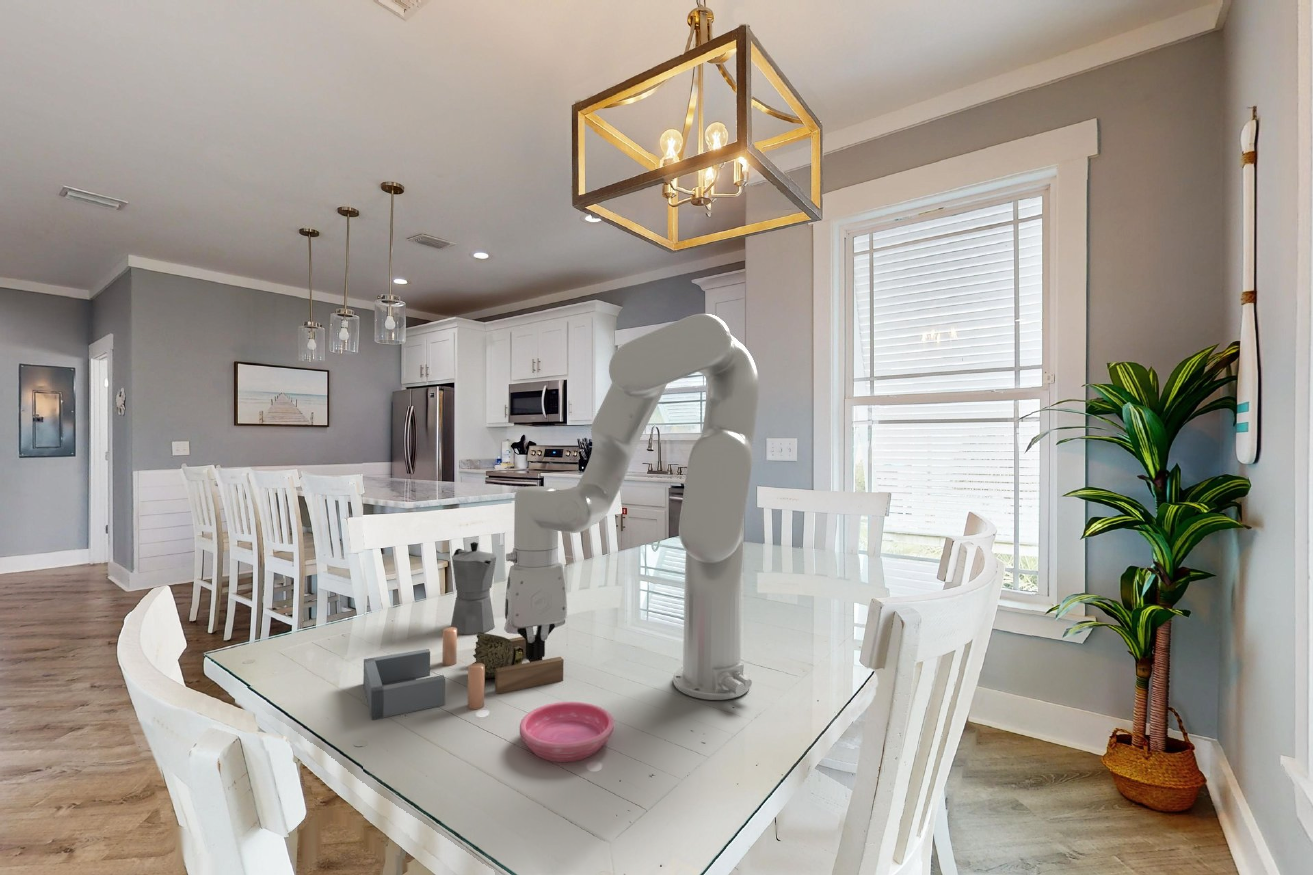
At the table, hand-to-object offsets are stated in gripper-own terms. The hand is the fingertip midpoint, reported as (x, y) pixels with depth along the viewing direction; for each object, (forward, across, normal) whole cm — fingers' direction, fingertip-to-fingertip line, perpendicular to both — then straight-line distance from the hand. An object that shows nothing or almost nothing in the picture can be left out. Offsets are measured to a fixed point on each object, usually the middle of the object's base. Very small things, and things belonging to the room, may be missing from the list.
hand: (535, 661), depth 105 cm
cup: (-1, -2, -1) cm, 3 cm away
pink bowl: (+2, -4, -26) cm, 26 cm away
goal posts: (+1, -12, 0) cm, 13 cm away
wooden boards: (+1, -3, 0) cm, 3 cm away
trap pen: (+1, -22, 0) cm, 22 cm away
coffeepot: (+1, -5, +28) cm, 28 cm away
